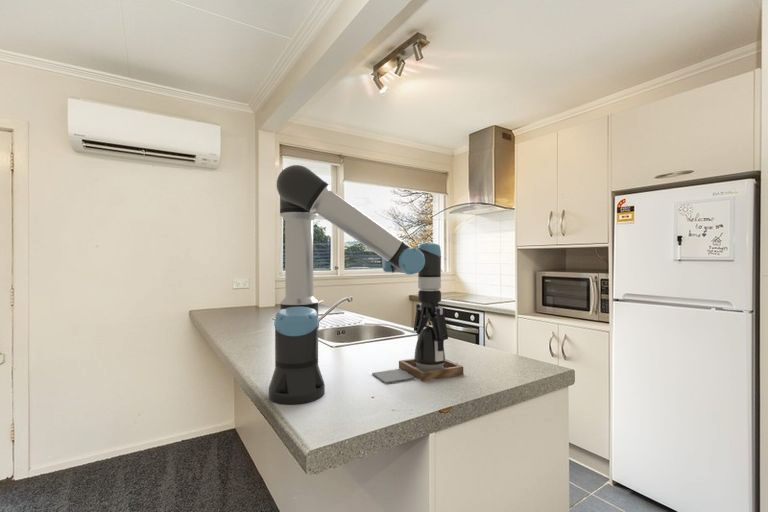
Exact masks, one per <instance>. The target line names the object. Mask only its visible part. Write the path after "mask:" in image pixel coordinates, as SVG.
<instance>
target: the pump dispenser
mask: <svg viewBox="0 0 768 512" xmlns="http://www.w3.org/2000/svg"><path fill="white" fill-rule="evenodd" d="M435 339H436V336H435V333H434V330H433V326H432V324H431V325H429V324H428V325H426V326H425V327H424V328H423V329H422V330H421V332H420V335H419V337H418V336H417V341H416V344H415V350H414V356H413V357H414V358H413V359H414V360H415V362H416V365H417V367H416V368H418V369H420V370H421V371H423V372H424V371H431V370H437V369H443V368H444V367H443V365H444V362H445V359H446V353H445V352H446V351H445V349H444V350H443V361H437V362H436V361H435Z"/></svg>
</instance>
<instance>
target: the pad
mask: <svg viewBox="0 0 768 512" xmlns="http://www.w3.org/2000/svg"><path fill="white" fill-rule="evenodd" d="M371 375H372V376H373V377H375V378H376V379H377V380H379V381H380V382H382V383H384V385H389V384H395V383H400V382H401V383H402V382H407V381H413V380H415V379H416V378H415V377H414V376H412V375H410V374H408V373H407V372H405V371H403V370H402V369H400V368H395V369H390V370H389V369H388V370H382V371H376V372H372V373H371Z"/></svg>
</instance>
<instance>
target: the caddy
mask: <svg viewBox="0 0 768 512" xmlns="http://www.w3.org/2000/svg"><path fill="white" fill-rule="evenodd" d="M398 369H401V370H403V371H404V372H406V373H408V374H410V375H411V376H413V377H415V379H417V380H419V381H421V382H427V381H432V380H438V379H444V378H445V379H446V378H449V377H450V378H451V377H456V376H462V375H464V366H463V365H461V364H458V363H456V362H454V361H451V360H449V359H446V358H445V362H444V365H443V368H442V369H437V370H431V371H424V372H423V371H421V370H420V369H418V367H417V365H416V362H415V360H414V358H408V359H403V360H402V359H401V360H398Z"/></svg>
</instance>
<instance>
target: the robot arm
mask: <svg viewBox="0 0 768 512" xmlns="http://www.w3.org/2000/svg"><path fill="white" fill-rule="evenodd" d="M276 190H277V192H278V195H279V215H280V217H281V218H282V219H283V220H284V247H285V249H284V252H285V253H284V254H285V255H284V259H285V260H284V261H285V262H284V263H285V267H284V269H285V270H284V271H285V273H284V274H285V275H284V277H285V278H284V280H285V283H284V284H285V291H284V293H285V297H284V298H283V299H282V300H281V301H280V302H279V303H280V310H278V311H277V312H276V313H275V316H274V317H275V318H274V319H275V320H274V324H273V325H274V349H275V350H274V353H275V354H274V355H275V357H274V363H275V364H274V370H273V375H272V377H271V380H270V383H269V387H268V399H269V401H272V402H274V403H277V404H282V405H296V404H305V403H309V402H312V401H313V402H314V401H315V400H318V399H321V398H322V397H323V396H324V395H325V390H326V389H325V386H326V385H325V382H324V378H323V375H322V373H321V370H320V367H319V327H320V319H319V300H318V299H317V298H315V296H314V220H315V219H317V217H318V215H319V216H320V217H322V218H323V219H325V220H327V222H329V223H331V224H332V225H334V226H335V227H336V228H338V229H339V230H341V231H343V232H344V233H345V234H347V235H348V236H350V237H351V238H353V239H354V240H356V241H357V242H359V243H360V244H361V245H363V246H364V247H366V248H367V249H369V250H370V251H371V252H373V253H375V254H376V255H378V257H381V266H382V270H383V272H384V273H392V274H394V273H402V274H406V275H409V276H410V275H415V274H417V279H418V280H417V288H418V292H417V295H418V296H417V297H418V302H419V303H416V304H415V305H416V306H415V307H416V310H415V318H414V325H413V331H414V332H416V334H417V338H418V337H419V335H420V332H421V330H422V329H423V328H424V327H425V326H427V324H428V322H429V321H430V322H431V326H433V330H434V333H435V336H436V339H435V361H436V362H437V361H443V350H444V351H445V345H444V344H445V343H444V341H445V340H448V339H449V334H448V329H447V323H446V318H445V317H446V316H445V315H446V314H445V312H446V311H445V308H444V307H440V306H439V303H440V302H441V301H442V291H441V290H440V289H442V284H441V283H442V277H441V276H442V274H441V273H442V271H441V269H442V251H441V245H440V244H439V243H438V242H437V243H436V242H430V243H429V242H428V243H427V242H426V243H425V242H424V243H419V244H418V245H417V248H416V247H413V246H411V245H409V244H408V243H407V242H404V241H403V240H402V239H401V238H399V237H398V236H396V235H395V234H394V233H392V232H391V231H389V230H388V229H386V228H385V227H384V226H383V225H381V224H379V223H378V222H377V221H376V220H373V218H371V217H370V216H368V215H367V214H365V213H363V212H362V210H360V209H358V208H357V207H356V206H354V205H353V204H351V203H350V202H348V201H347V200H346V199H344V198H342V197H341V196H340V195H338V194H337V193H335V192H334V191H333V190H332V189H331V186H330V184H329V183H327V182H326V181H325V180H323V179H322V178H321V177H319V176H318V175H317V174H316V173H315V172H313V171H312V170H311V169H309V168H308V167H306V166H303V165H301V164H300V165H299V164H297V165H296V164H294V165H289V166H287V167H284V169H282V170H281V171H280V173H279V174H278V176H277V180H276Z"/></svg>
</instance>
